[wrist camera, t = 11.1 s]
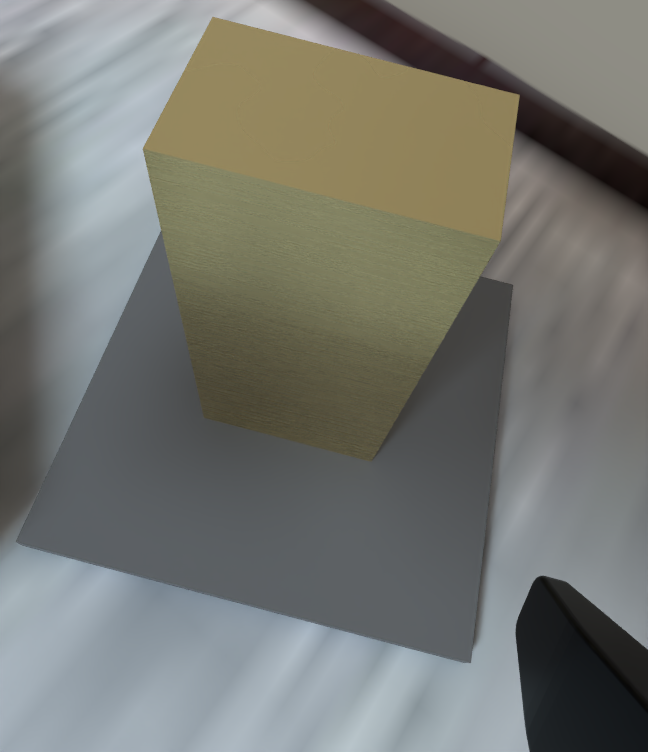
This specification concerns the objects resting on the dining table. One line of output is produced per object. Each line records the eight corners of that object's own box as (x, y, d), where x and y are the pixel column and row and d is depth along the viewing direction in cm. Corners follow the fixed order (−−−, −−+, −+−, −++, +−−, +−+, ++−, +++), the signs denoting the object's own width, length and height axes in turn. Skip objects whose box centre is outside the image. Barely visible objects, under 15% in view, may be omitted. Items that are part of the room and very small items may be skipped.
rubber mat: (463, 662, 15) (470, 662, 15) (24, 545, 16) (15, 542, 15) (506, 294, 21) (512, 285, 20) (178, 210, 21) (176, 197, 20)
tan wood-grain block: (371, 461, 17) (500, 240, 8) (203, 417, 17) (142, 149, 8) (390, 371, 18) (519, 94, 9) (234, 331, 18) (212, 16, 9)
